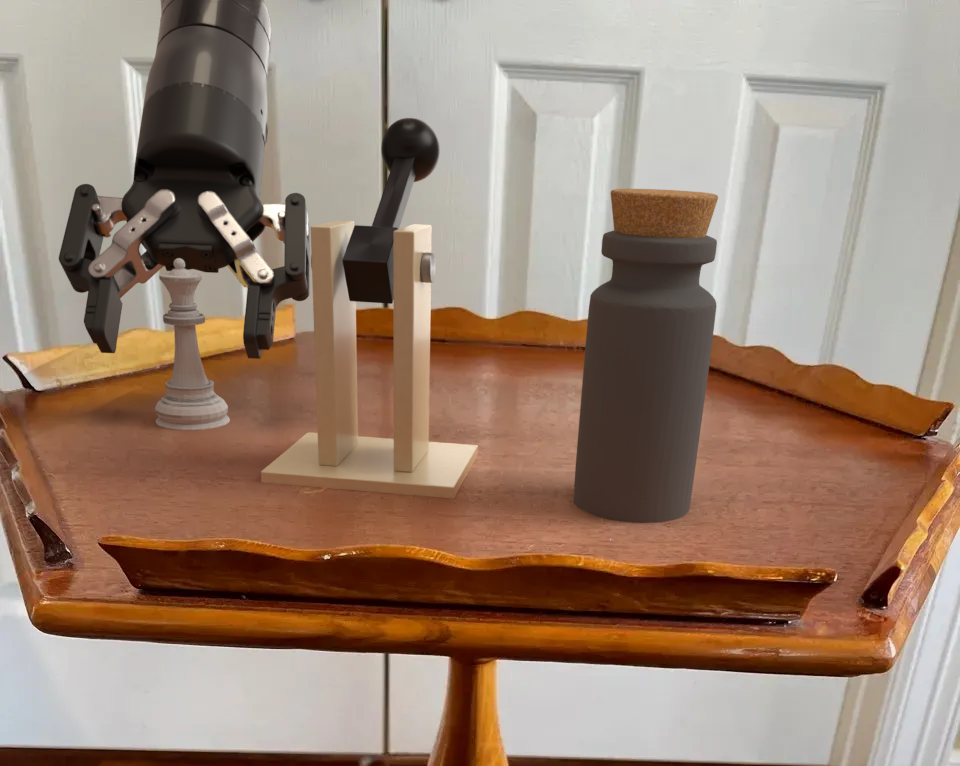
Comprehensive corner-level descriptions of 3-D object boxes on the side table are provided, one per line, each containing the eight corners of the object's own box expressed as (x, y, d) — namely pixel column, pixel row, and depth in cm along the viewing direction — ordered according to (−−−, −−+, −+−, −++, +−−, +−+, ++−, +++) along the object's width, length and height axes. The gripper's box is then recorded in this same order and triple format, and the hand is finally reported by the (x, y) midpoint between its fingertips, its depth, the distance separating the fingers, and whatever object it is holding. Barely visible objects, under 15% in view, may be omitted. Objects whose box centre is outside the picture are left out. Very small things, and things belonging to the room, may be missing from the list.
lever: (391, 159, 59) (384, 104, 56) (446, 162, 58) (441, 106, 55) (340, 307, 51) (330, 252, 49) (403, 311, 51) (396, 255, 48)
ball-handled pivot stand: (308, 452, 60) (298, 215, 54) (477, 465, 59) (486, 224, 53) (261, 494, 53) (245, 226, 47) (453, 510, 51) (460, 237, 46)
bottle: (609, 541, 48) (643, 194, 42) (551, 502, 53) (574, 186, 46) (711, 527, 50) (759, 196, 44) (647, 491, 55) (682, 188, 49)
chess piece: (146, 438, 61) (127, 260, 57) (169, 420, 65) (153, 252, 60) (219, 442, 61) (206, 264, 56) (238, 423, 65) (227, 255, 60)
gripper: (70, 72, 61) (28, 303, 55) (312, 83, 61) (293, 312, 56) (108, 168, 68) (74, 380, 62) (324, 177, 68) (309, 388, 63)
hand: (178, 348), depth 59 cm, fingers open, 8 cm apart
